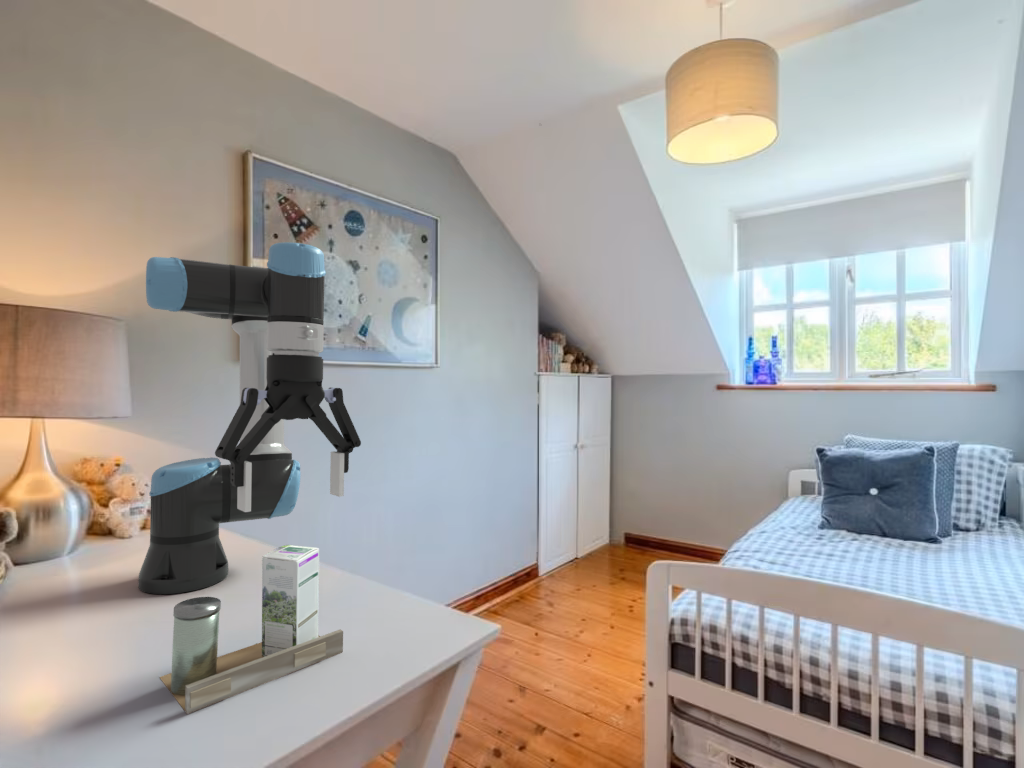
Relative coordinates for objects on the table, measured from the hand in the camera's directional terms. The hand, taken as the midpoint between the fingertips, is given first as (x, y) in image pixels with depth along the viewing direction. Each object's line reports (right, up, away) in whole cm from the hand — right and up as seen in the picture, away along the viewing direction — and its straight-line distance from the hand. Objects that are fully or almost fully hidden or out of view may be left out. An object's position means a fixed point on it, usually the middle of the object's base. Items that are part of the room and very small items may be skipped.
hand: (293, 502), depth 78 cm
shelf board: (-4, -23, -3) cm, 23 cm away
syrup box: (0, -22, 0) cm, 22 cm away
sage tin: (-9, -21, -9) cm, 25 cm away
